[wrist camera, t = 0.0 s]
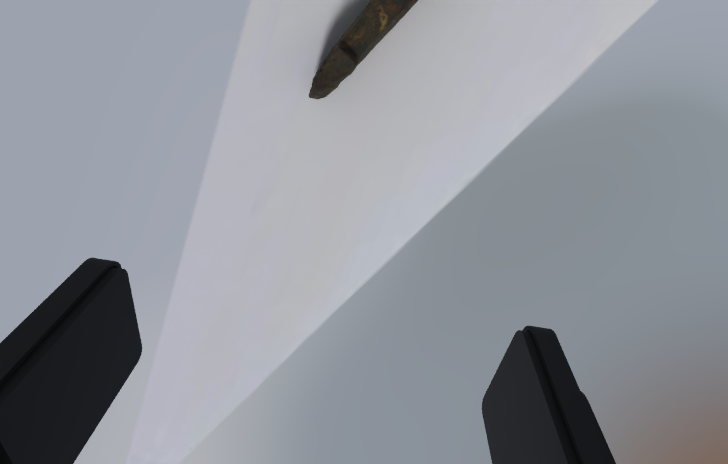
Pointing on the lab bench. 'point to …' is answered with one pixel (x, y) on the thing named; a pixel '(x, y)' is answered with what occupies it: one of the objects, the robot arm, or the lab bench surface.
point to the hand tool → (358, 43)
